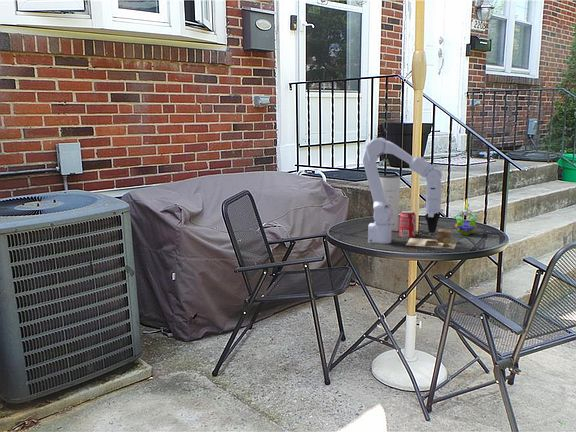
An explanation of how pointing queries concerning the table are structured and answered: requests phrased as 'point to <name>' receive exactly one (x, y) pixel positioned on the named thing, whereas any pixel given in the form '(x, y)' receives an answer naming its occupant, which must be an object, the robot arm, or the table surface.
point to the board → (431, 243)
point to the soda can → (407, 223)
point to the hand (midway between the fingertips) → (432, 231)
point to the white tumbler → (392, 197)
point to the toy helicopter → (466, 226)
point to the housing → (443, 235)
